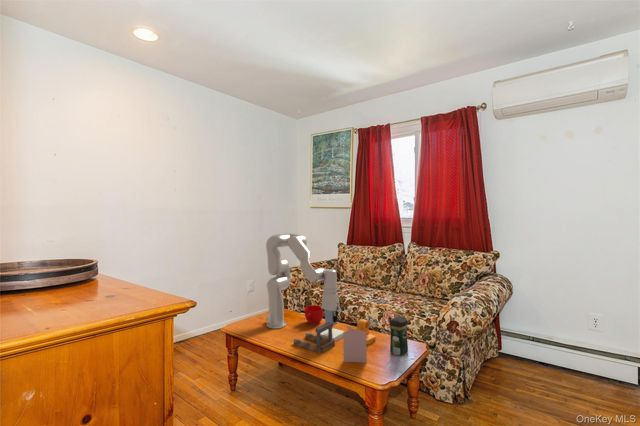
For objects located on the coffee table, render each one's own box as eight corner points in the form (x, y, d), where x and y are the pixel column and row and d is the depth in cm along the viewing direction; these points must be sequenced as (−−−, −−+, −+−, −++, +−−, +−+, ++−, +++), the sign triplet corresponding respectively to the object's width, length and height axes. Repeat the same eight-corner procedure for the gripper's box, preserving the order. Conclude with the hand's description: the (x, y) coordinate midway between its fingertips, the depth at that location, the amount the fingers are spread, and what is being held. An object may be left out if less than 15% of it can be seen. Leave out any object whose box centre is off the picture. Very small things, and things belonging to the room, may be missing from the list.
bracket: (364, 346, 176) (364, 324, 176) (354, 342, 181) (354, 321, 181) (376, 340, 183) (376, 319, 183) (366, 337, 189) (366, 316, 188)
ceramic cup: (298, 327, 206) (298, 311, 206) (309, 318, 222) (308, 304, 221) (317, 329, 201) (317, 313, 201) (326, 320, 217) (326, 306, 217)
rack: (293, 344, 180) (293, 338, 180) (307, 337, 190) (307, 332, 190) (321, 353, 168) (321, 347, 168) (334, 345, 177) (334, 340, 177)
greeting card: (367, 361, 158) (367, 331, 158) (359, 367, 153) (358, 336, 152) (349, 355, 166) (348, 326, 165) (340, 360, 160) (339, 330, 160)
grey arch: (315, 345, 170) (315, 328, 170) (328, 338, 180) (328, 321, 180) (320, 346, 168) (319, 329, 168) (333, 339, 178) (333, 322, 178)
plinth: (317, 337, 189) (316, 333, 189) (329, 331, 198) (328, 327, 198) (333, 342, 181) (333, 338, 181) (345, 335, 191) (345, 331, 191)
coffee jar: (396, 347, 174) (395, 313, 174) (410, 351, 169) (409, 316, 169) (387, 353, 167) (387, 318, 166) (401, 358, 162) (401, 321, 161)
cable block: (325, 324, 189) (325, 309, 189) (330, 322, 193) (330, 307, 193) (332, 326, 186) (331, 310, 186) (337, 323, 190) (336, 308, 190)
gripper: (315, 289, 192) (316, 320, 192) (338, 294, 181) (339, 325, 181) (323, 287, 198) (323, 316, 198) (346, 291, 187) (346, 322, 187)
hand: (331, 320), depth 190 cm, fingers closed on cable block, 5 cm apart
